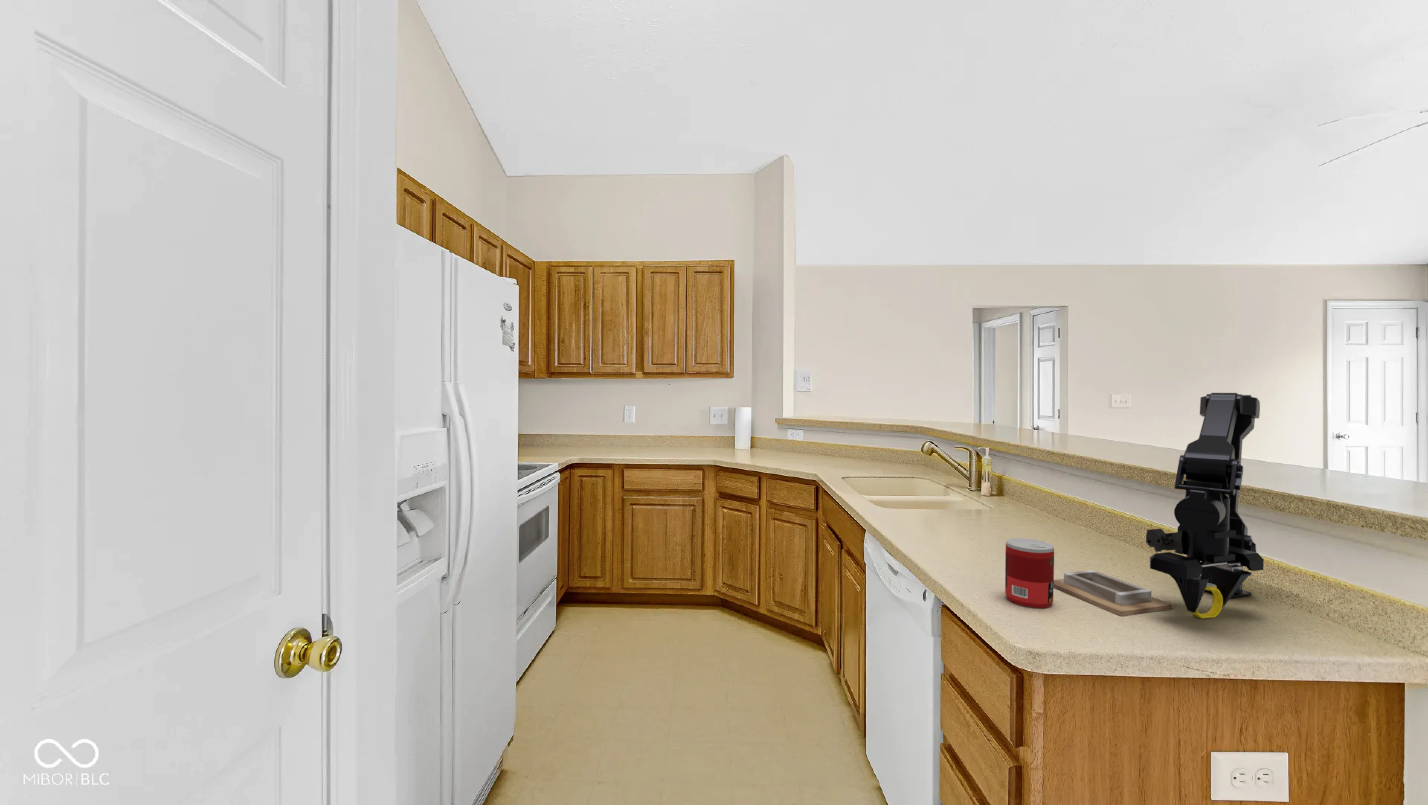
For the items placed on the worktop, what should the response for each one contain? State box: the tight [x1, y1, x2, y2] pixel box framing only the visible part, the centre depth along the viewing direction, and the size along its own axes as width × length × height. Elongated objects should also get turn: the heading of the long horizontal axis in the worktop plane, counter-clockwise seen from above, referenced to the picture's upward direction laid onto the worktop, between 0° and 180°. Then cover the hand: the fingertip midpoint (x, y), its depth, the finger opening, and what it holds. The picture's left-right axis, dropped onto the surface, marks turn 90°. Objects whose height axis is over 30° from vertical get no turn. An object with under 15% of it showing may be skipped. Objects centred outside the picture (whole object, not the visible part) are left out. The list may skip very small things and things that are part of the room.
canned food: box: [1004, 537, 1055, 609], centre depth 106 cm, size 8×8×11 cm
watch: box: [1190, 583, 1223, 620], centre depth 98 cm, size 6×3×6 cm, turn 101°
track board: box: [1054, 569, 1173, 617], centre depth 108 cm, size 12×16×3 cm
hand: (1205, 609), depth 98 cm, fingers closed on watch, 6 cm apart
